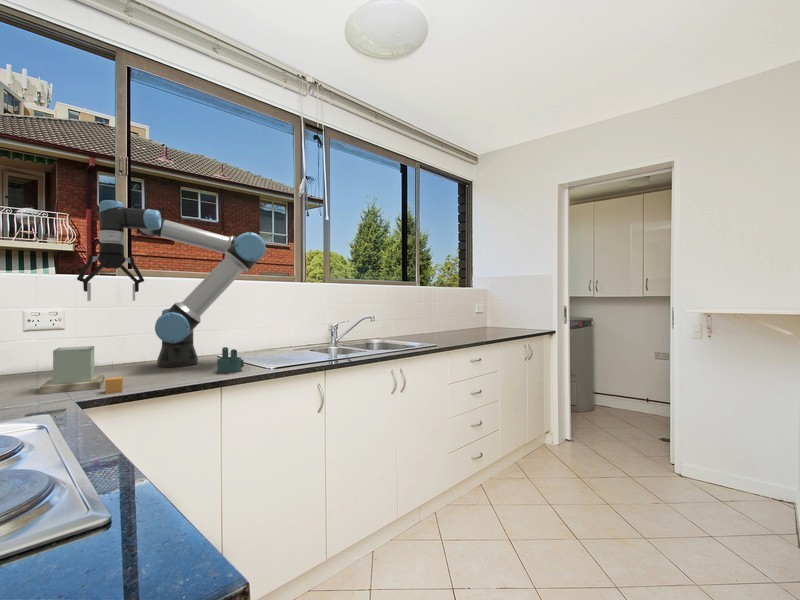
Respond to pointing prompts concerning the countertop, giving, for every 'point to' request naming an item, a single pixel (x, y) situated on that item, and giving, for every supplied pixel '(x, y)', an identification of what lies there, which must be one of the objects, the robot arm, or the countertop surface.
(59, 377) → the sage green cube
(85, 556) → the countertop surface
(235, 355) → the bracket
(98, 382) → the birch board
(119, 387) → the block
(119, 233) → the robot arm
